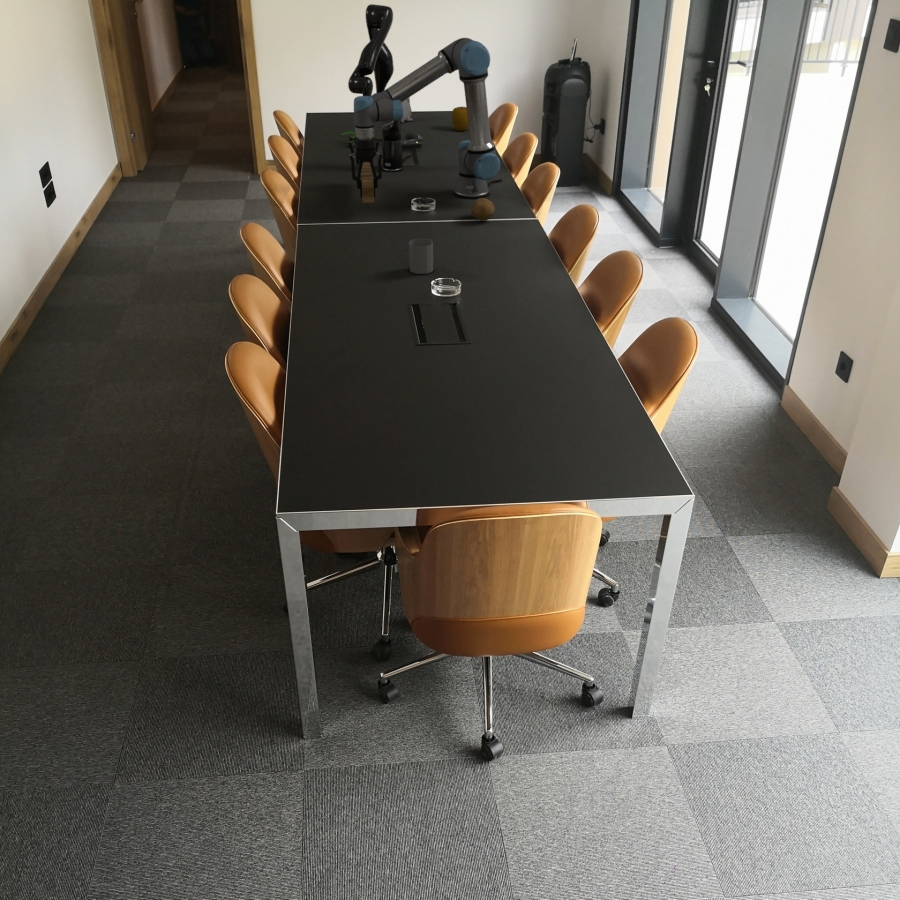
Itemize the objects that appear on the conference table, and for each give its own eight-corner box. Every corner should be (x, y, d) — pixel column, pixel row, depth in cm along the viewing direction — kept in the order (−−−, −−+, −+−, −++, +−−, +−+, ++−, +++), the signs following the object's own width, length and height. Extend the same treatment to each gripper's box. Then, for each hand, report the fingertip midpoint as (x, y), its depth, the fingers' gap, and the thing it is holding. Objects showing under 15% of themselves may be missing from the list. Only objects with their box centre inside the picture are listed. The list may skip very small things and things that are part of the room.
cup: (409, 265, 311) (408, 238, 306) (432, 265, 312) (431, 238, 307) (410, 274, 304) (409, 246, 299) (433, 273, 305) (433, 246, 299)
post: (359, 170, 396) (358, 150, 392) (369, 169, 397) (368, 150, 392) (362, 203, 353) (361, 181, 348) (374, 202, 353) (373, 181, 349)
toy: (416, 120, 512) (415, 93, 504) (387, 127, 497) (386, 99, 489) (405, 118, 517) (404, 91, 509) (376, 124, 502) (375, 97, 494)
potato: (492, 213, 362) (492, 194, 358) (496, 224, 351) (496, 204, 346) (468, 214, 362) (469, 194, 358) (472, 224, 350) (472, 205, 346)
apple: (471, 132, 486) (471, 108, 479) (451, 132, 486) (451, 108, 479) (470, 128, 495) (471, 104, 488) (452, 128, 495) (452, 104, 488)
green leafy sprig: (396, 128, 464) (339, 126, 462) (395, 143, 457) (338, 141, 454) (395, 137, 469) (340, 135, 466) (395, 153, 462) (339, 151, 459)
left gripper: (346, 127, 375) (348, 167, 384) (379, 126, 376) (381, 166, 386) (346, 123, 381) (348, 163, 391) (378, 122, 383) (380, 162, 392)
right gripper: (342, 140, 342) (346, 199, 355) (387, 139, 344) (389, 198, 357) (342, 136, 349) (346, 194, 361) (386, 135, 350) (388, 192, 363)
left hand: (364, 164), depth 388 cm, fingers closed on post, 4 cm apart
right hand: (367, 196), depth 359 cm, fingers closed on post, 5 cm apart
